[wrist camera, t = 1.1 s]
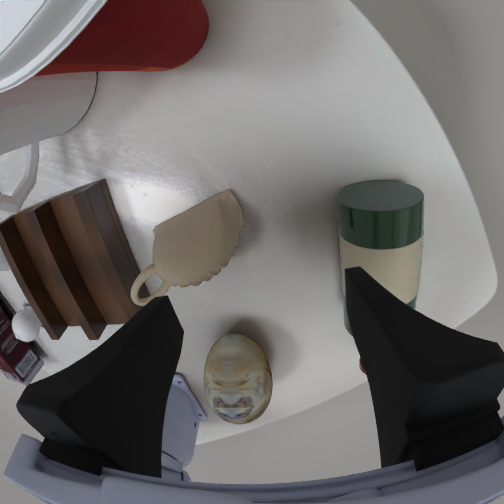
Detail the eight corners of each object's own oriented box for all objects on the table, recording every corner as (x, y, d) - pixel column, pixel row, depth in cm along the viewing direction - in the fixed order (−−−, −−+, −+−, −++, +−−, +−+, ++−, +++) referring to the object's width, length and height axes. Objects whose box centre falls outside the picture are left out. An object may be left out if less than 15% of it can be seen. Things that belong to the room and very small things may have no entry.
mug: (37, 187, 21) (-43, 238, 12) (21, 58, 15) (-68, 66, 6) (109, 174, 20) (24, 230, 11) (96, 24, 14) (1, 2, 6)
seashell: (201, 315, 26) (180, 388, 19) (266, 311, 25) (264, 388, 18) (223, 381, 30) (213, 446, 23) (276, 379, 30) (276, 446, 22)
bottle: (330, 185, 20) (341, 216, 15) (407, 177, 19) (439, 206, 14) (341, 345, 27) (345, 393, 22) (397, 338, 26) (410, 384, 21)
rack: (159, 315, 26) (149, 338, 24) (64, 322, 28) (51, 339, 25) (105, 178, 20) (84, 190, 18) (11, 215, 22) (-8, 228, 19)
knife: (36, 348, 32) (45, 345, 31) (35, 351, 31) (43, 347, 30) (-33, 259, 25) (-28, 250, 24) (-35, 261, 25) (-30, 252, 24)
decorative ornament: (257, 236, 22) (255, 277, 17) (164, 275, 24) (142, 317, 19) (232, 187, 20) (221, 216, 16) (137, 234, 22) (107, 270, 18)
